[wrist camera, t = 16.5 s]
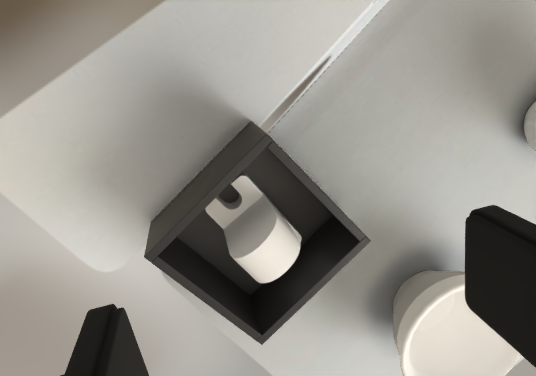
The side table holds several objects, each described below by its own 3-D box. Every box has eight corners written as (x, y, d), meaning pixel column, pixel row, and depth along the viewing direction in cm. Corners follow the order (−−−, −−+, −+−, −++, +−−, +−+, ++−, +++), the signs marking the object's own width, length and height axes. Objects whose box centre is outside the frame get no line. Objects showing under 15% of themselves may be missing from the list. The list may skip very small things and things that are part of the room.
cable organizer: (240, 167, 40) (259, 200, 30) (298, 232, 43) (331, 278, 34) (201, 201, 40) (207, 244, 30) (262, 263, 43) (285, 317, 34)
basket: (150, 222, 40) (143, 257, 33) (251, 120, 39) (266, 133, 32) (249, 300, 45) (261, 345, 38) (340, 212, 44) (371, 241, 37)
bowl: (353, 352, 51) (385, 405, 43) (383, 239, 47) (425, 275, 39) (457, 351, 55) (504, 401, 47) (494, 248, 51) (552, 282, 43)
